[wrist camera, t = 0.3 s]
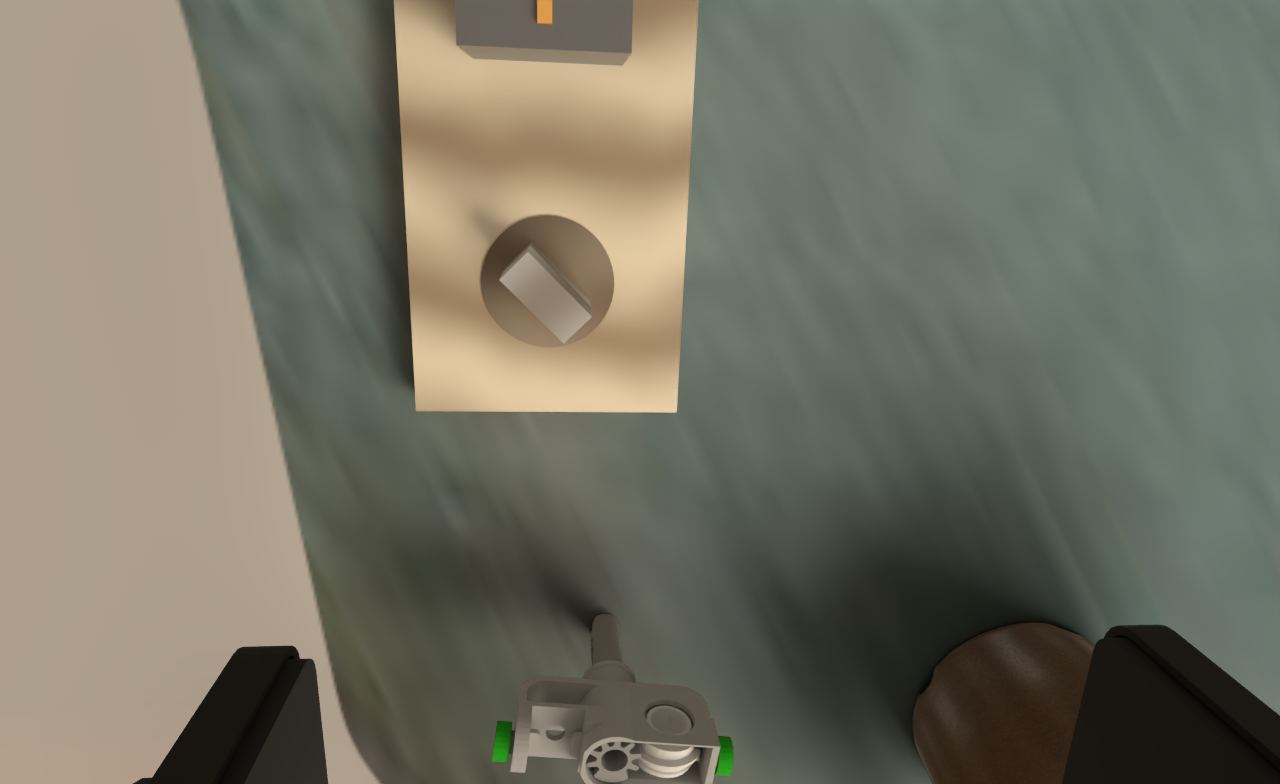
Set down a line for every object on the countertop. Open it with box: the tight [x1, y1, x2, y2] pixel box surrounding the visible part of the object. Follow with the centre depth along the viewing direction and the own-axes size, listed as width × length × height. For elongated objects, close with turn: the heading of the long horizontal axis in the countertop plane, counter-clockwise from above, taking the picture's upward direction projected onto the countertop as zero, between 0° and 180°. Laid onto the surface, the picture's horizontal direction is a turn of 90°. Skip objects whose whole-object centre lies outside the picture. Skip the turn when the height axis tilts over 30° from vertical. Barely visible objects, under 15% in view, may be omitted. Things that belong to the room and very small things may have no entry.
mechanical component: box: [492, 614, 733, 784], centre depth 38 cm, size 3×10×10 cm, turn 81°
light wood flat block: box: [394, 0, 699, 412], centre depth 32 cm, size 24×12×6 cm, turn 178°
